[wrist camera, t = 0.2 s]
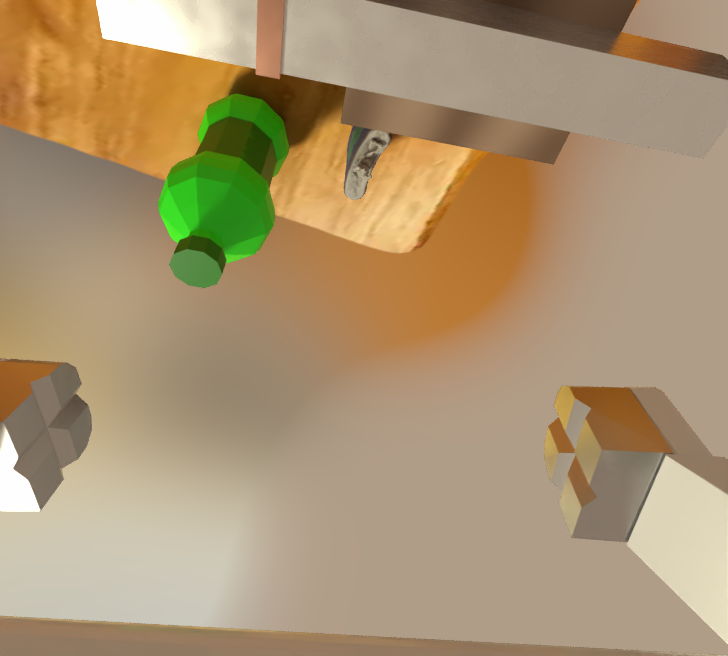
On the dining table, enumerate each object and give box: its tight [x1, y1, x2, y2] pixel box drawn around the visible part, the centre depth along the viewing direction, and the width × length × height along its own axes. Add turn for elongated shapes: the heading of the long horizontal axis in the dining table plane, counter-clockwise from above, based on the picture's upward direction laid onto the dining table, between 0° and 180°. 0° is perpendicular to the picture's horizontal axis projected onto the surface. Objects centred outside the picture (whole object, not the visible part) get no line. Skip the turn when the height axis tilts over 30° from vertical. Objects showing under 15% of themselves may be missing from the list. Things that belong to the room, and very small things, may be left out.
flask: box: [344, 126, 391, 199], centre depth 55 cm, size 9×3×11 cm, turn 158°
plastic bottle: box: [158, 93, 289, 288], centre depth 51 cm, size 10×10×25 cm
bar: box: [96, 0, 728, 158], centre depth 27 cm, size 32×4×4 cm, turn 80°
